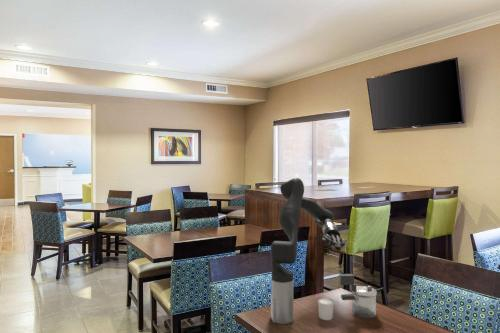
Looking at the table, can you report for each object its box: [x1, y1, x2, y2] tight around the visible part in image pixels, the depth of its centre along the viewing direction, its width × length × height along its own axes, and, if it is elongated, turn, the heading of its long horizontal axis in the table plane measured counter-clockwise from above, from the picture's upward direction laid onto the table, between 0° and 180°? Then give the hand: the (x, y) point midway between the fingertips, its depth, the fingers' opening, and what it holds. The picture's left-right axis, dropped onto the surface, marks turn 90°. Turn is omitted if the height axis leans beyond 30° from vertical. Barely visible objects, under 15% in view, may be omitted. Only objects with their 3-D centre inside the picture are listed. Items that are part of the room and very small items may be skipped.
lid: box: [338, 273, 378, 297], centre depth 160 cm, size 16×11×8 cm, turn 95°
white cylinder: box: [317, 298, 335, 321], centre depth 157 cm, size 7×7×7 cm
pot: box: [340, 292, 377, 319], centre depth 161 cm, size 15×10×9 cm, turn 96°
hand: (338, 249), depth 171 cm, fingers closed
